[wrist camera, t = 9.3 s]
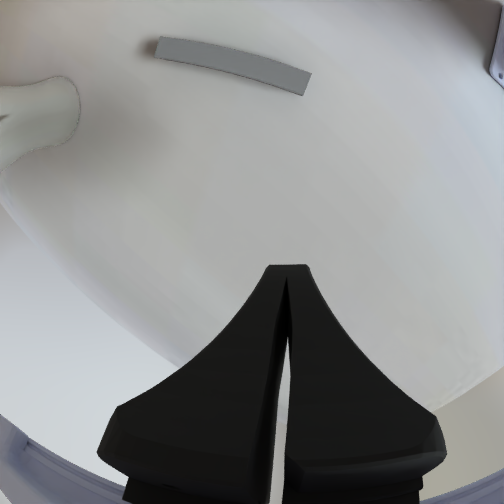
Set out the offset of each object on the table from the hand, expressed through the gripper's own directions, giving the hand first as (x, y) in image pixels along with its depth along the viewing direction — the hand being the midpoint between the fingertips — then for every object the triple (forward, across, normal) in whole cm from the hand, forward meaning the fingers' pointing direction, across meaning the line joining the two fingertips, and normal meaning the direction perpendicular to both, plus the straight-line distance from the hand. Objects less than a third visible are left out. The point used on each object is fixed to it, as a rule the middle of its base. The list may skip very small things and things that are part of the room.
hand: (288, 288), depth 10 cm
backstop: (+10, +3, -9) cm, 14 cm away
